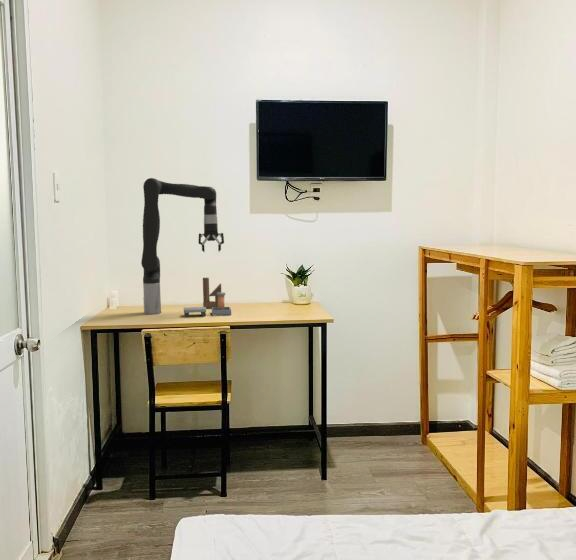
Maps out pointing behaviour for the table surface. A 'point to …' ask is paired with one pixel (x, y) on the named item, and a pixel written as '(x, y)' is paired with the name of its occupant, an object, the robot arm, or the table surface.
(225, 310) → the tray
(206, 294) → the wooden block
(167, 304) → the table surface
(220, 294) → the stop pin
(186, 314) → the trolley
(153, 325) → the table surface
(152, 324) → the table surface
